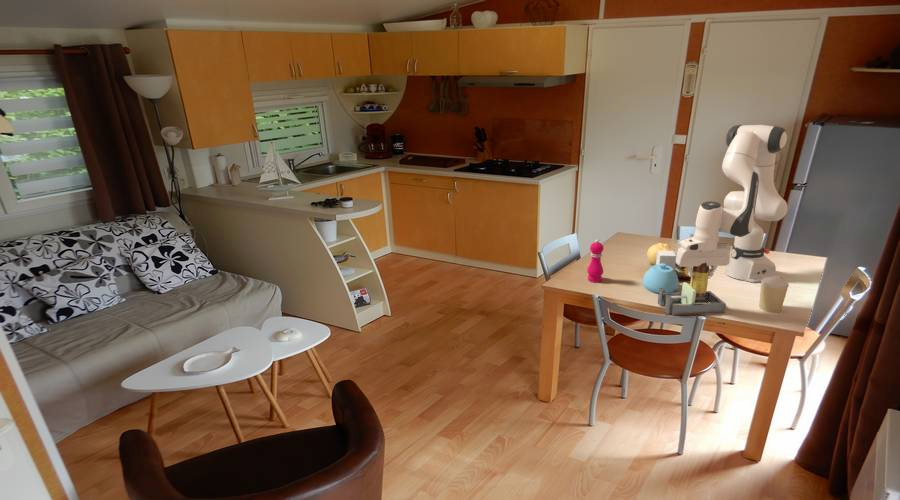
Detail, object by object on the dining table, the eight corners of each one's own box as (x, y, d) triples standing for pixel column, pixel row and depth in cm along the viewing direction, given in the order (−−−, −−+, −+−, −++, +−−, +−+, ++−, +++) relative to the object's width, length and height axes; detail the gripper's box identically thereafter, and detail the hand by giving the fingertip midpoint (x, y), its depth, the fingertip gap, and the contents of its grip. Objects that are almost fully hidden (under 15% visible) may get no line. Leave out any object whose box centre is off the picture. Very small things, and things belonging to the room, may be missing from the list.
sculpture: (674, 268, 251) (677, 247, 248) (649, 268, 253) (651, 247, 249) (668, 259, 262) (670, 239, 258) (643, 259, 263) (645, 239, 260)
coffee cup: (771, 302, 214) (777, 275, 210) (789, 312, 205) (794, 284, 201) (751, 304, 213) (756, 277, 208) (767, 314, 204) (773, 286, 200)
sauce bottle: (709, 296, 208) (717, 250, 201) (695, 298, 207) (703, 252, 200) (698, 290, 214) (705, 245, 207) (685, 292, 213) (692, 246, 206)
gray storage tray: (708, 299, 218) (711, 284, 216) (724, 312, 207) (726, 297, 204) (656, 301, 218) (658, 286, 216) (668, 315, 206) (670, 299, 204)
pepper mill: (589, 275, 247) (591, 236, 240) (604, 278, 243) (607, 238, 236) (584, 281, 241) (587, 240, 234) (600, 283, 237) (603, 243, 230)
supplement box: (674, 281, 237) (677, 256, 232) (656, 281, 238) (659, 255, 234) (670, 275, 243) (673, 250, 239) (654, 274, 245) (657, 249, 241)
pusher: (683, 301, 216) (685, 282, 213) (693, 311, 208) (696, 291, 205) (661, 302, 216) (663, 283, 213) (670, 312, 208) (673, 292, 205)
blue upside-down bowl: (676, 297, 221) (679, 272, 217) (639, 291, 228) (641, 267, 224) (680, 284, 234) (683, 260, 230) (645, 279, 241) (647, 256, 237)
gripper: (727, 239, 206) (721, 272, 210) (676, 241, 205) (672, 273, 210) (735, 244, 200) (730, 277, 204) (683, 246, 200) (678, 279, 204)
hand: (700, 275), depth 207 cm, fingers closed on sauce bottle, 6 cm apart
